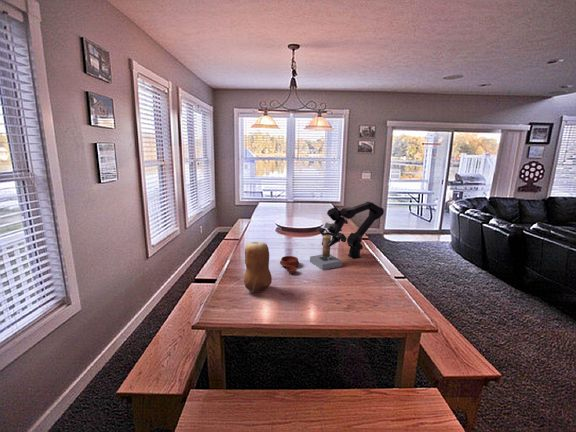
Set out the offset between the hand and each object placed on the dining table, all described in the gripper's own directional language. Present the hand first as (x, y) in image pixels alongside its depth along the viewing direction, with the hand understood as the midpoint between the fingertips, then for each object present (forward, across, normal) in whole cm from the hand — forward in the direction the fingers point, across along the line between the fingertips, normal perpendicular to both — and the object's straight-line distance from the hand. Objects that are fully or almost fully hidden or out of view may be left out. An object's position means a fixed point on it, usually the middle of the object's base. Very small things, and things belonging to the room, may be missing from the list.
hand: (325, 246), depth 177 cm
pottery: (+23, -9, -6) cm, 25 cm away
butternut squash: (+45, +2, -28) cm, 53 cm away
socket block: (+8, 0, +9) cm, 12 cm away
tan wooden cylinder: (+4, 0, +6) cm, 7 cm away
